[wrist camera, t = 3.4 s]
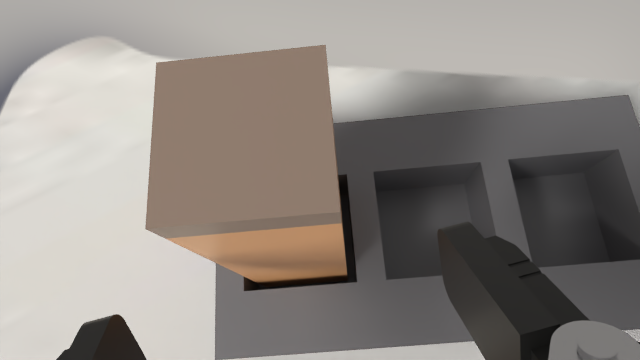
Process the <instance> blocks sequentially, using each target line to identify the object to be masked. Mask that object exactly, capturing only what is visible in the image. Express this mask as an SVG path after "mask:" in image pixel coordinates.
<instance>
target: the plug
mask: <svg viewBox="0 0 640 360" xmlns="http://www.w3.org/2000/svg"><path fill="white" fill-rule="evenodd" d="M146 229H147V230H149V231H151V232H153V233H155V234H157V235H159V236H161V237H163V238H166V239H168V240H170V241H172V242H174V243H176V244H178V245H180V246H182V247H184V248H186V249H188V250H190V251H192V252H194V253H196V254H199V255H201V256H203V257H205V258H207V259H209V260H211V261H213V262H215V263H217V264H219V265H221V266H223V267H225V268H227V269H229V270H232V271H234V272H236V273H238V274H240V275H242V276H244V277H246V278H248V279H250V280H252V281H254V282H256V283H258V284H260V285H262V286H264V287H277V286H290V285H302V284H315V283H327V282H339V281H348V277H347V266H346V255H345V244H344V233H343V222H342V211H341V200H340V190H339V180H338V169H337V159H336V149H335V138H334V128H333V118H332V107H331V97H330V87H329V76H328V66H327V56H326V45H320V46H311V47H301V48H291V49H282V50H272V51H263V52H253V53H245V54H234V55H225V56H216V57H206V58H198V59H187V60H178V61H168V62H159V63H156V77H155V92H154V108H153V123H152V138H151V153H150V169H149V184H148V199H147V214H146Z"/></svg>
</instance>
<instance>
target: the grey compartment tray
mask: <svg viewBox="0 0 640 360" xmlns="http://www.w3.org/2000/svg"><path fill="white" fill-rule="evenodd" d="M333 128H334V138H335V149H336V159H337V169H338V180H339V190H340V200H341V211H342V222H343V233H344V244H345V255H346V266H347V277H348V281H339V282H327V283H315V284H302V285H290V286H277V287H264V286H262V285H260V284H258V283H256V282H254V281H252V280H250V279H248V278H246V277H244V276H242V275H240V274H238V273H236V272H234V271H232V270H229V269H227V268H225V267H223V266H221V265H219V264H217V263H216V309H215V360H222V359H236V358H249V357H263V356H277V355H290V354H304V353H317V352H331V351H345V350H358V349H372V348H386V347H399V346H413V345H427V344H440V343H454V342H467V341H474V340H473V338H472V336H471V335H470V333H469V331H468V330H467V328H466V326H465V325H464V323H463V321H462V320H461V318H460V316H459V315H458V313H457V311H456V310H455V308H454V306H453V305H452V303H451V301H450V299H449V297H448V294H447V292H446V289H445V285H444V281H443V276H442V268H441V260H440V252H439V245H438V236H437V233H438V229H441V228H445V227H449V226H452V225H456V224H460V223H463V222H467V221H468V222H470V223H471V224H472V225H473V226H474V227H475V228H476V229H477V231H478V232H479V233H480V234H481V235H482V236H483V237H484V238H488V237H492V236H498V237H500V238H502V239H504V240H506V241H509V242H511V243H513V244H515V245H516V246H517V247H518V248H519V249H520V250H521V251H522V252H523V253H524V254H525V255H526V256H527V257H528V258H529V259H530V262H533V263H534V264H535V265H536V266H537V267H538V268H539V269H540V270H541V273H542V274H545V275H546V276H547V277H548V278H549V279H550V280H551V281H552V282H553V283H554V284H555V285H556V286H557V287H558V288H559V289H560V290H561V291H562V292H563V293H564V295H565V296H566V297H567V298H568V299H569V300H570V301H571V302H572V303H573V304H574V305H575V306H576V307H577V308H578V309H579V310H580V311H581V312H582V313H583V314H584V315H585V316H586V317H587V318H588V319H589V320H590V321H596V322H601V323H605V324H608V325H611V326H614V327H616V328H618V329H620V330H631V329H640V127H639V124H638V121H637V118H636V116H635V113H634V110H633V107H632V104H631V102H630V99H629V96H628V95H623V96H613V97H602V98H592V99H582V100H572V101H561V102H551V103H541V104H530V105H520V106H510V107H499V108H489V109H479V110H469V111H458V112H448V113H438V114H427V115H417V116H407V117H397V118H386V119H376V120H366V121H355V122H345V123H335V124H333Z"/></svg>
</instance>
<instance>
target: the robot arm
mask: <svg viewBox="0 0 640 360" xmlns="http://www.w3.org/2000/svg"><path fill="white" fill-rule="evenodd" d="M437 236H438V245H439V252H440V260H441V268H442V276H443V281H444V285H445V289H446V292H447V294H448V297H449V299H450V301H451V303H452V305H453V306H454V308H455V310H456V311H457V313H458V315H459V316H460V318H461V320H462V321H463V323H464V325H465V326H466V328H467V330H468V331H469V333H470V335H471V336H472V338H473V340H474V341H475V343H476V345H477V346H478V348H479V350H480V351H481V353H482V355H483V356H484V358H485V360H640V342H637V341H636V340H635V339H634V338H632V337H631V336H630V335H629V334H627V333H625V332H624V331H622V330H620V329H618V328H616V327H614V326H611V325H608V324H605V323H601V322H596V321H590V320H589V319H588V318H587V317H586V316H585V315H584V314H583V313H582V312H581V311H580V310H579V309H578V308H577V307H576V306H575V305H574V304H573V303H572V302H571V301H570V300H569V299H568V298H567V297H566V296H565V295H564V293H563V292H562V291H561V290H560V289H559V288H558V287H557V286H556V285H555V284H554V283H553V282H552V281H551V280H550V279H549V278H548V277H547V276H546V275H545V274H542V273H541V270H540V269H539V268H538V267H537V266H536V265H535V264H534V263H533V262H530V259H529V258H528V257H527V256H526V255H525V254H524V253H523V252H522V251H521V250H520V249H519V248H518V247H517V246H516V245H515V244H513V243H511V242H509V241H506V240H504V239H502V238H500V237H498V236H492V237H488V238H484V237H483V236H482V235H481V234H480V233H479V232H478V231H477V229H476V228H475V227H474V226H473V225H472V224H471V223H470V222H468V221H467V222H463V223H460V224H456V225H452V226H449V227H445V228H441V229H438V233H437ZM56 360H146V358H145V356H144V354H143V352H142V350H141V348H140V347H139V345H138V343H137V341H136V340H135V338H134V336H133V334H132V333H131V331H130V329H129V327H128V326H127V324H126V322H125V320H124V319H123V318H122V317H121V316H120V315H117V314H116V315H112V316H108V317H105V318H101V319H97V320H93V321H90V322H86V323H84V324H83V325H82V326H81V328H80V329H79V331H78V333H77V335H76V337H75V339H74V341H73V343H72V345H71V347H70V348H69V349H67V350H65V351H64V352H63V353H62V354H61V355H60V356H59V357H58V358H57V359H56Z"/></svg>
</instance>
